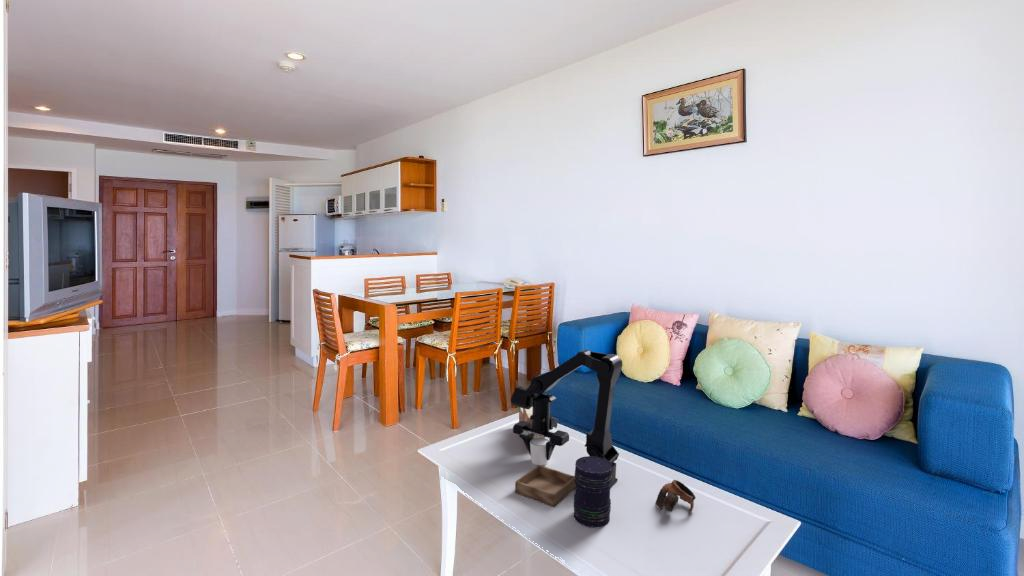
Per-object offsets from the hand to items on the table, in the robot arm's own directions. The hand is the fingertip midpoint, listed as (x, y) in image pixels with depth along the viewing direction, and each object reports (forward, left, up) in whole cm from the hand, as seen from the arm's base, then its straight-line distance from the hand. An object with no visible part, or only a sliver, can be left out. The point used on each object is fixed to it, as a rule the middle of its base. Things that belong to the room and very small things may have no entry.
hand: (539, 457), depth 165 cm
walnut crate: (-11, +15, -2) cm, 19 cm away
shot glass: (0, 0, -2) cm, 2 cm away
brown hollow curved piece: (-45, +3, -2) cm, 45 cm away
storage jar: (-28, +20, -2) cm, 34 cm away
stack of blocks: (+13, -15, -2) cm, 20 cm away
